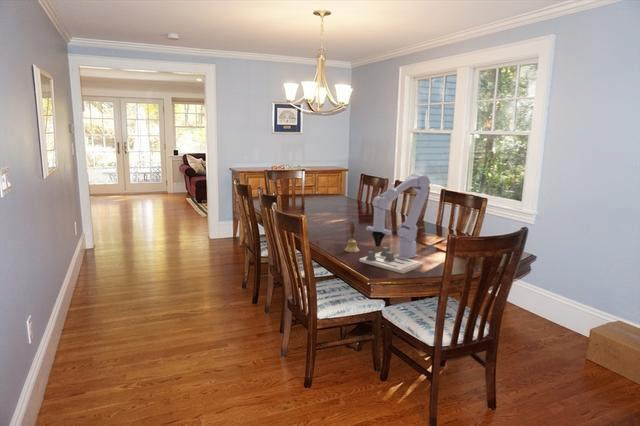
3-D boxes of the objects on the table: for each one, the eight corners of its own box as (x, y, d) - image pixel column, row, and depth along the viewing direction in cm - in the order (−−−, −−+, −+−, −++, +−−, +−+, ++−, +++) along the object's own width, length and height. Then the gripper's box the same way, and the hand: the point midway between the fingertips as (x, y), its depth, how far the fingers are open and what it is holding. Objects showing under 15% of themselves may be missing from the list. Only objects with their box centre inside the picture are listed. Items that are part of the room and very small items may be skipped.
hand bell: (343, 252, 242) (344, 223, 239) (345, 248, 250) (346, 220, 247) (358, 252, 241) (359, 224, 238) (359, 248, 249) (360, 221, 246)
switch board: (380, 254, 238) (380, 251, 238) (423, 265, 220) (423, 262, 220) (359, 261, 225) (359, 258, 225) (402, 273, 208) (402, 270, 207)
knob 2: (384, 253, 235) (385, 246, 234) (390, 254, 232) (390, 247, 232) (380, 254, 232) (380, 247, 231) (385, 256, 230) (386, 249, 229)
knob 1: (370, 257, 226) (371, 250, 226) (376, 259, 224) (376, 251, 223) (365, 259, 224) (366, 251, 223) (371, 260, 221) (371, 253, 220)
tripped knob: (388, 258, 226) (389, 251, 225) (394, 259, 223) (395, 252, 223) (384, 259, 223) (384, 252, 222) (390, 261, 221) (390, 254, 220)
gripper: (363, 219, 227) (361, 244, 229) (386, 223, 217) (384, 250, 219) (371, 217, 232) (370, 242, 234) (394, 221, 222) (393, 248, 224)
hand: (377, 246), depth 227 cm, fingers closed
